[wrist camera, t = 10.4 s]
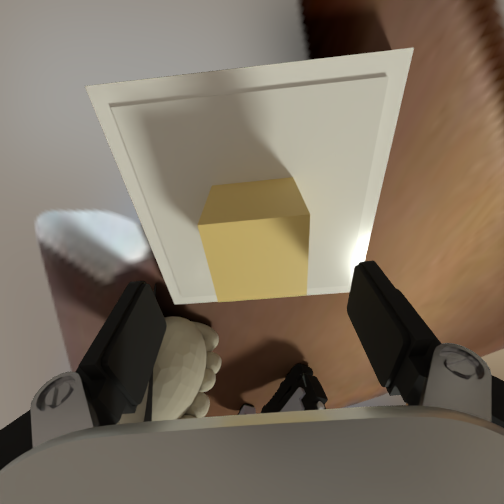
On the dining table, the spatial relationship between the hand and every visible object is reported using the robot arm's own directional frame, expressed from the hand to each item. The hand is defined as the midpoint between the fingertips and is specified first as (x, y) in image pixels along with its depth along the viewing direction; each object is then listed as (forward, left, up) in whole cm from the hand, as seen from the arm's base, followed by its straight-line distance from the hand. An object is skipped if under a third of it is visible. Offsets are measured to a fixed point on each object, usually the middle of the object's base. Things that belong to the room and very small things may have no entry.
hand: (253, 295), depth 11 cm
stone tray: (+1, 0, -9) cm, 9 cm away
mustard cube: (+1, 0, -7) cm, 7 cm away
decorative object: (-12, +9, -9) cm, 18 cm away
